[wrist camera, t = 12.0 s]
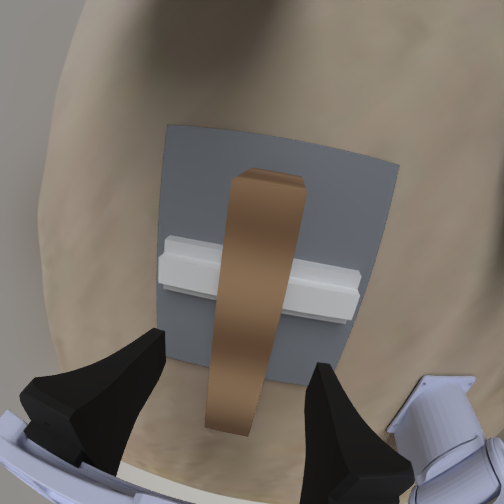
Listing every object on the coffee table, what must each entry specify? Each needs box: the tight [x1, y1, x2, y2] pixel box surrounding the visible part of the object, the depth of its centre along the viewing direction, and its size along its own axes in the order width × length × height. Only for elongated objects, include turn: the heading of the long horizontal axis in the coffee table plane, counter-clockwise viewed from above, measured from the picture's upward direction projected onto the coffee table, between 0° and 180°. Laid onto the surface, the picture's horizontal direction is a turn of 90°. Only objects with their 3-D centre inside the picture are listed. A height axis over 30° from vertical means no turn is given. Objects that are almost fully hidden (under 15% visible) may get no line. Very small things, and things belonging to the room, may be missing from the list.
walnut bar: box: [205, 168, 307, 436], centre depth 17 cm, size 16×3×6 cm, turn 171°
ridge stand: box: [157, 125, 399, 386], centre depth 21 cm, size 20×16×3 cm
